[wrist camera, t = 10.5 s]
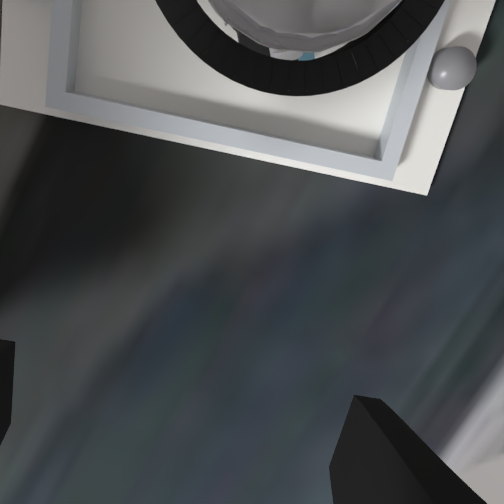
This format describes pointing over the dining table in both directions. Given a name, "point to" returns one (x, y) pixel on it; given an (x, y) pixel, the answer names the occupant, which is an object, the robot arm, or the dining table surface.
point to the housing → (239, 89)
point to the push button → (300, 39)
